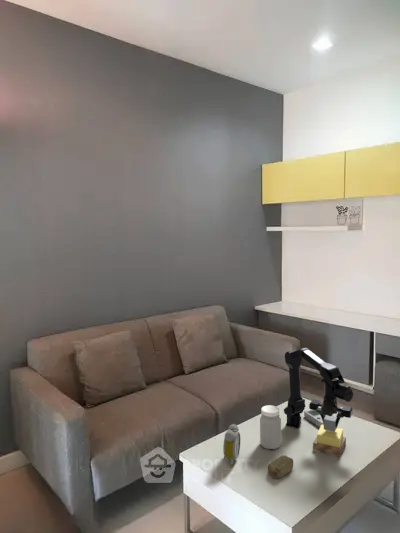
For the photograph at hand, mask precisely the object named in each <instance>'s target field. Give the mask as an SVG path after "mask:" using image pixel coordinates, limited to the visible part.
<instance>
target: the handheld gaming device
mask: <svg viewBox="0 0 400 533" xmlns="http://www.w3.org/2000/svg"><path fill="white" fill-rule="evenodd" d="M303 417H304V418H306V420H309V422H311V423H313V424H314V425H316V426H317V427H318V428H320V426H321V425H324V423H323V420H322V418H321V415H320V414H319V413H318V412H316V410H312V409H307V410H305V411H304V410H303Z"/></svg>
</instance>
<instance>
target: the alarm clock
mask: <svg viewBox="0 0 400 533" xmlns="http://www.w3.org/2000/svg"><path fill="white" fill-rule="evenodd" d="M222 446H223V447H222V450H223V457H224V458H225V459H230V466H231V467H233V466H234V461H235V460H237V459H238V458H239V455H240V450H241V432H240V429H239V426H237V425H236V423H233V424H230V425H229V426H228V429H227V431H226V432H225V434H224V439H223V445H222ZM224 458H223V459H224Z"/></svg>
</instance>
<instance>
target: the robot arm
mask: <svg viewBox="0 0 400 533" xmlns="http://www.w3.org/2000/svg"><path fill="white" fill-rule="evenodd" d="M302 359H304V360H305V362H307V363H308V364H310V365H311V366H312V367H314V368H315V369H316V370H317V372H318V373H319V375H320V376H321V377H322V379H321V380H320V382H322V383H324V392H323V393H324V394H323V395H324V397H323V402H322V401H321V400H318V399H312V400H311V401H310V402H309V404H308V410H311V409H312V410H316V412H318V413H319V414H320V415H321V418H322V420H323V423H324V418H325V416H326V415H328V416H333V415H336V416H335V417H337V419H336V428H338V425H339V423H340V422H341V418H347V419H350V418H352V416H353V414H354V408H353V407H351V406H346V405H344V406H343V407H338V405H339V404H338V399H339V400H341V401H344V402H347V403H349V402H351V401H352V399H353V398H354V392H353V390H352V389H351V387H350V385H347V384H345V380H344V377H343V375H342V374H341V371H340V369H339V367H337V365H335V364H332V363H328V362H325V361H324V360H323V359H321V358H320V357H319V356H317V355H316V354H315V353H314V352H312V351H311V350H310V349H309V348H308V347H303V348H299V349H293V350H288V351H286V352H285V353H284V361H285V364H286V366H287V367H288V375H289V388H290V389H289V392H290V393H289V394H290V396H289V398H288V400H287V406H285V408H283V413H284V415H286V423H285V426H286V427H290V428H294V429H298V428H299V427H300V426H301V425H302V416H301V414H302V413H303V414H304V410H306V408H305V407H306V399H305V398H303V397H302V395H301V384H300V382H301V381H300V366H301V364H302ZM321 402H322V403H321Z"/></svg>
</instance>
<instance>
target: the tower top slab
mask: <svg viewBox="0 0 400 533" xmlns="http://www.w3.org/2000/svg"><path fill="white" fill-rule="evenodd" d="M316 437H317V443H321V444H326V445H330V446H335V447H340V444H341V441H342V438H343V437H344V429H343V428H339V427H337V429H336V430H335V432H333V431H329V430H325V429H324V425H321V426H320V427H319V430H318V431H317V433H316Z"/></svg>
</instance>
